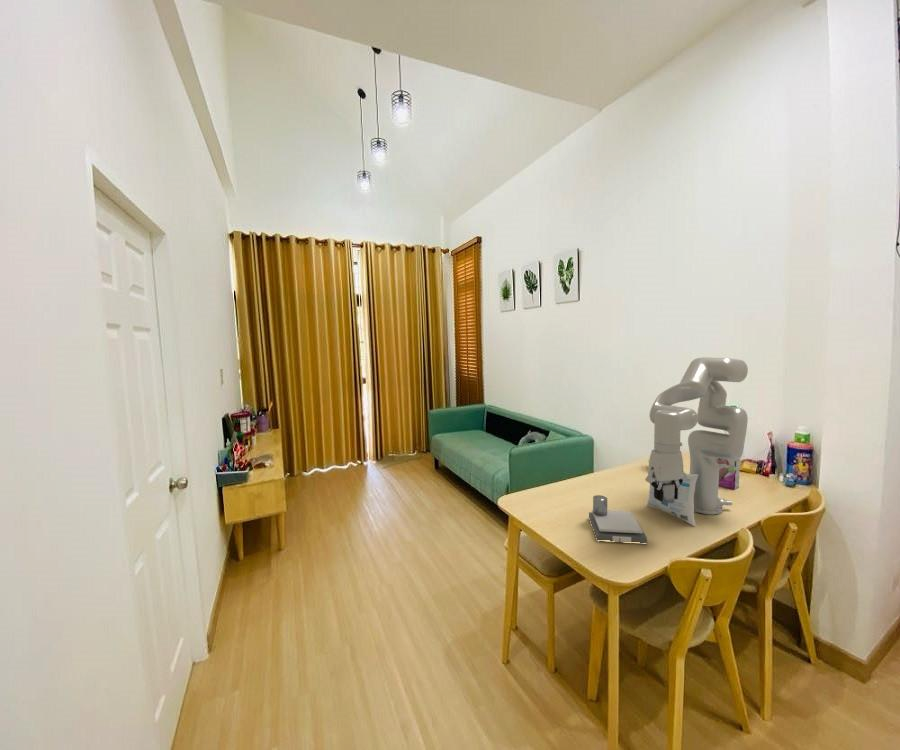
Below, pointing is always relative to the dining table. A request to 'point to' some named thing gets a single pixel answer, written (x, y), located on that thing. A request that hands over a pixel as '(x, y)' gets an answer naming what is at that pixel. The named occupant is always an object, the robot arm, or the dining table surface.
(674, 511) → the pouch
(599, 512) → the cylinder
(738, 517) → the dining table surface
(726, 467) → the candy bar box
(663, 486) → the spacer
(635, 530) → the scale
